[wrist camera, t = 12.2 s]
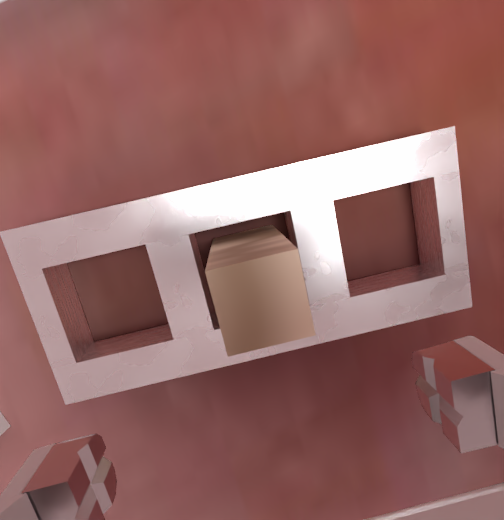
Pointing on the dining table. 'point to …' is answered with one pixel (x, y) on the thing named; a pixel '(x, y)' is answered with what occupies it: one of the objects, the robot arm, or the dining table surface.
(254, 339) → the maple block
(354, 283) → the grey flat frame
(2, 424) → the white rounded block
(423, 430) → the dining table surface
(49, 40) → the dining table surface
